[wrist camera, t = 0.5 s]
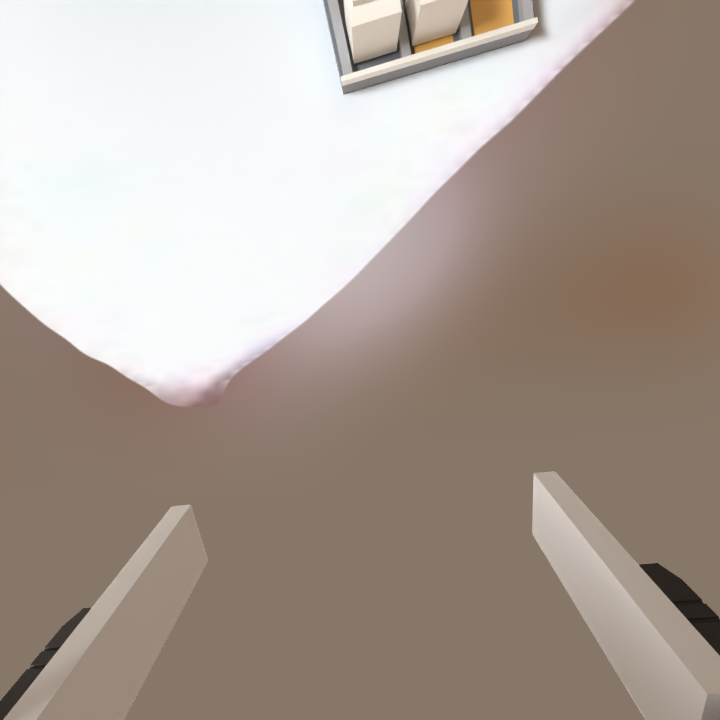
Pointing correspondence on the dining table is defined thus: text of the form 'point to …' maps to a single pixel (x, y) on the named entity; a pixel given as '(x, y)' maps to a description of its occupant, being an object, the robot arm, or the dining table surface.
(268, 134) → the dining table surface
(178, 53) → the dining table surface
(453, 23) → the tab
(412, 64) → the switch bank
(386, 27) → the tab
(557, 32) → the dining table surface
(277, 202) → the dining table surface
